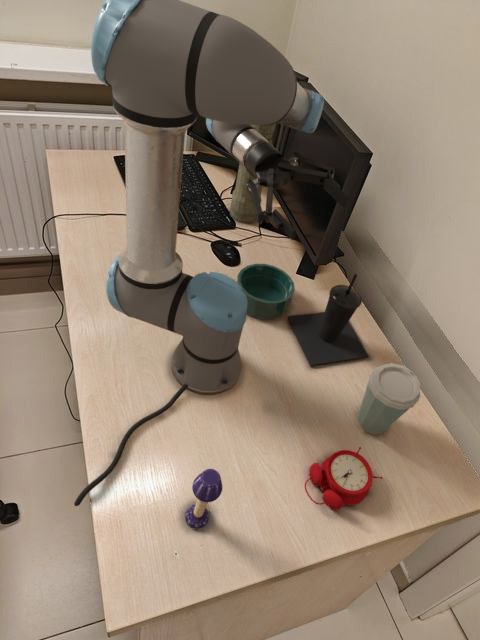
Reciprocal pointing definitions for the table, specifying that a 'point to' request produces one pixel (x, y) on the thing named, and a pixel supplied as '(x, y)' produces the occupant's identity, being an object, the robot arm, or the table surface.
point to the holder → (320, 350)
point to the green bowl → (266, 290)
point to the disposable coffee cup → (387, 397)
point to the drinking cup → (339, 311)
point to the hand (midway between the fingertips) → (320, 218)
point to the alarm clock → (342, 479)
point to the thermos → (241, 197)
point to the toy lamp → (203, 497)
